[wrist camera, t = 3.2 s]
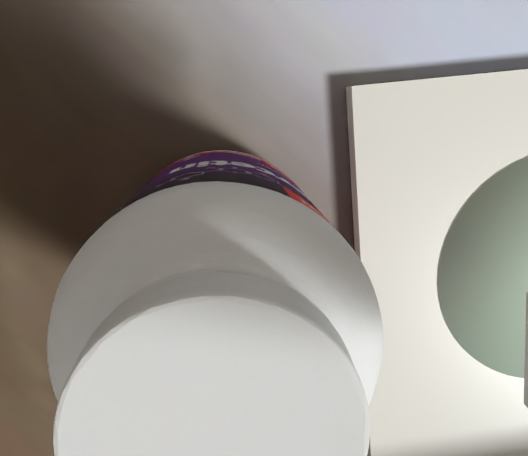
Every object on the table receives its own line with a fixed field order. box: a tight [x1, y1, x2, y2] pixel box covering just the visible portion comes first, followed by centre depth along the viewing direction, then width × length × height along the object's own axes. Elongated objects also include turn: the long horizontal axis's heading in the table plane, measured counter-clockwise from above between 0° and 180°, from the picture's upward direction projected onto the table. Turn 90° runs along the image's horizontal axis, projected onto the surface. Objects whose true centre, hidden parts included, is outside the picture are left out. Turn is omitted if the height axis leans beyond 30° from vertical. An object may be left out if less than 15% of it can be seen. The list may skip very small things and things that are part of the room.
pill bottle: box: [47, 150, 383, 456], centre depth 16 cm, size 8×8×14 cm
